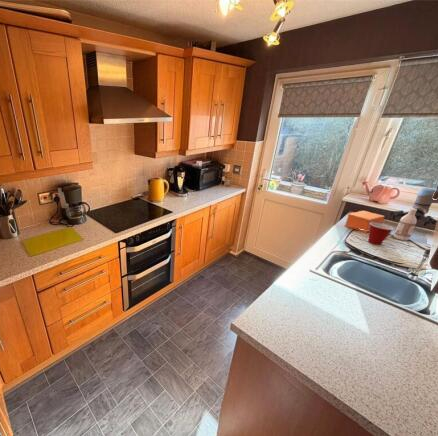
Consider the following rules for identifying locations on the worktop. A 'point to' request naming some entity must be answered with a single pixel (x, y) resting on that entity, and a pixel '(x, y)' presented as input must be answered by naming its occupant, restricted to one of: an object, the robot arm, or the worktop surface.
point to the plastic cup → (378, 233)
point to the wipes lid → (366, 215)
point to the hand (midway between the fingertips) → (409, 220)
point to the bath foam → (406, 225)
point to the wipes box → (361, 223)
